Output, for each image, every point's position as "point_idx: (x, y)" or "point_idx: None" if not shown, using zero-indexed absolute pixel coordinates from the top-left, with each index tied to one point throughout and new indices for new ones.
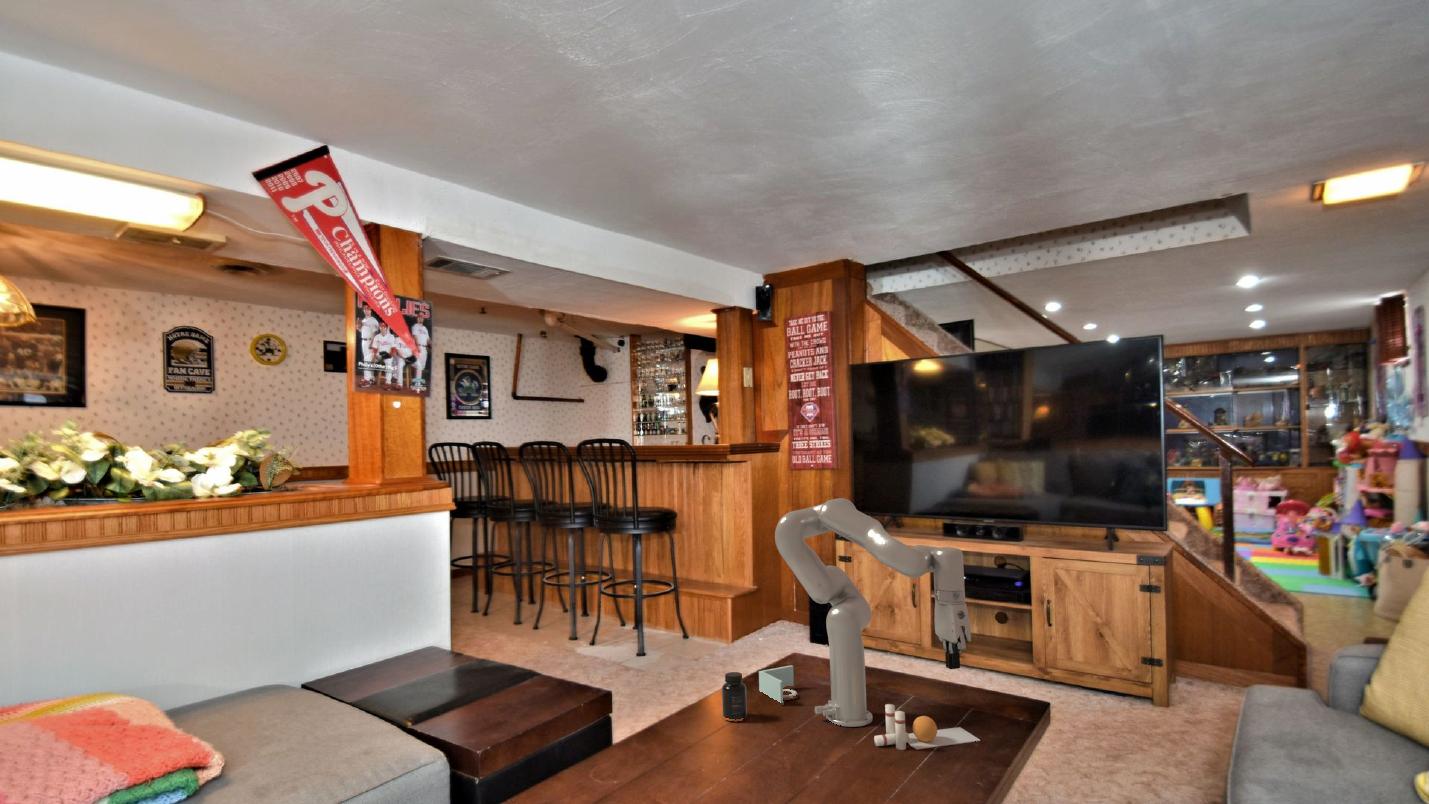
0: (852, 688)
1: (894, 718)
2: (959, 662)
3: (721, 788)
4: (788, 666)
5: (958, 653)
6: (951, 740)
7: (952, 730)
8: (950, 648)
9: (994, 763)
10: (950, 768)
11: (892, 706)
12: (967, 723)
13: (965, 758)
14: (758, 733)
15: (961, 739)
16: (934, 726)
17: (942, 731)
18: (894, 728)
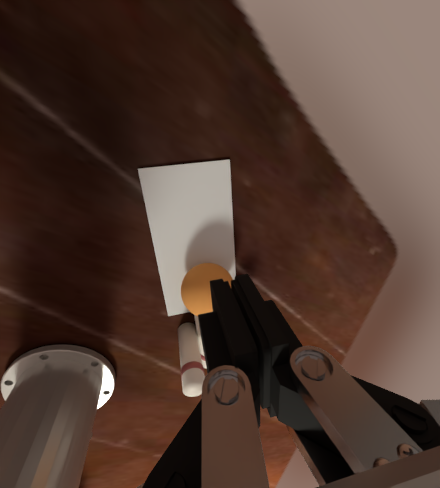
0: (83, 460)
1: (199, 359)
2: (257, 293)
3: (272, 477)
4: None
5: (285, 344)
6: (216, 227)
7: (159, 199)
8: (327, 452)
9: (332, 191)
10: (318, 272)
11: (200, 384)
12: (103, 128)
13: (296, 233)
14: (130, 476)
15: (216, 203)
16: (230, 281)
17: (162, 225)
18: (197, 343)
